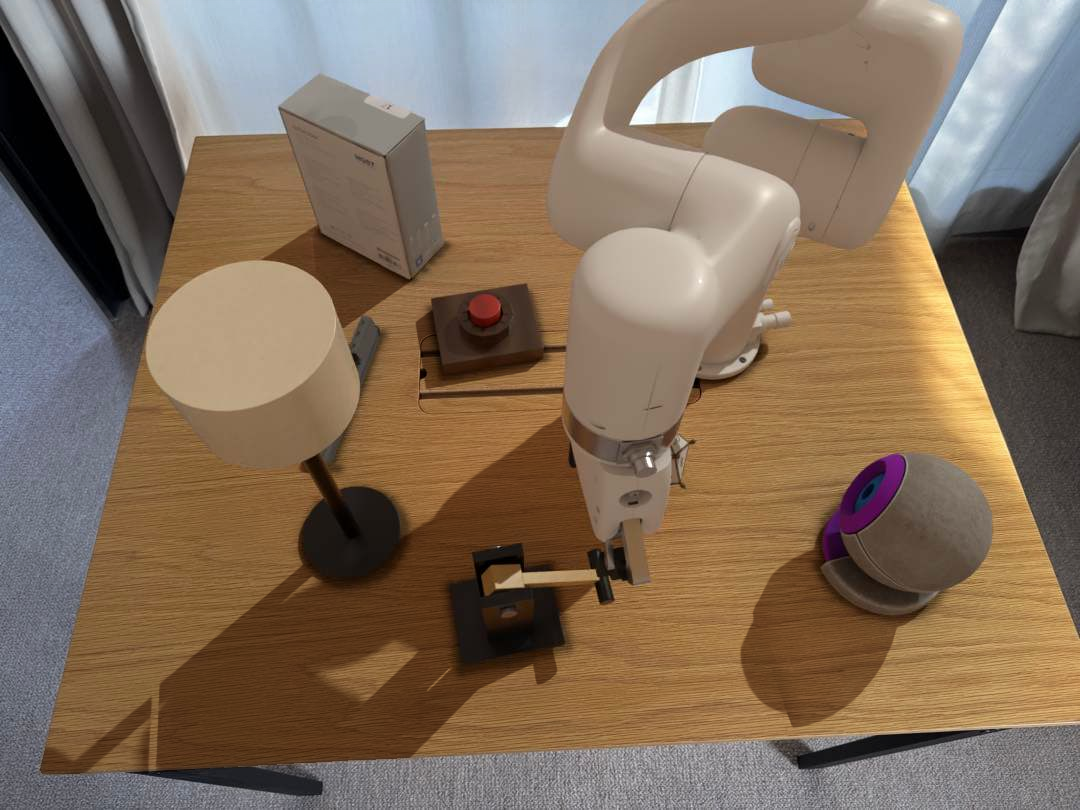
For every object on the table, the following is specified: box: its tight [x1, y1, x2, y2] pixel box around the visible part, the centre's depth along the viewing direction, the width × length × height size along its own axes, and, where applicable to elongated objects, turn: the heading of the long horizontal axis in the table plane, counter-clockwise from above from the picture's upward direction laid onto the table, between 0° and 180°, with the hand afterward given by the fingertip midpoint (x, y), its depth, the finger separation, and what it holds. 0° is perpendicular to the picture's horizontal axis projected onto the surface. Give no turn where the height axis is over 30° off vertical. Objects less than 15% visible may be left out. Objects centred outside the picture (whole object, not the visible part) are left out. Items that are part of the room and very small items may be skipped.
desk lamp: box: [145, 260, 403, 581], centre depth 65 cm, size 12×12×36 cm
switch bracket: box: [449, 542, 566, 666], centre depth 70 cm, size 10×8×13 cm
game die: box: [670, 432, 698, 490], centre depth 81 cm, size 9×8×10 cm
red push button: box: [469, 294, 501, 327], centre depth 90 cm, size 4×4×2 cm
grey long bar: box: [320, 315, 382, 468], centre depth 87 cm, size 19×3×4 cm, turn 168°
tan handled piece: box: [481, 547, 616, 606], centre depth 69 cm, size 12×5×2 cm, turn 102°
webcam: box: [820, 452, 994, 616], centre depth 73 cm, size 13×13×15 cm
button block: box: [430, 282, 545, 376], centre depth 92 cm, size 12×10×4 cm
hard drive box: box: [277, 72, 445, 280], centre depth 93 cm, size 16×8×20 cm, turn 58°
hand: (600, 514), depth 62 cm, fingers open, 9 cm apart
